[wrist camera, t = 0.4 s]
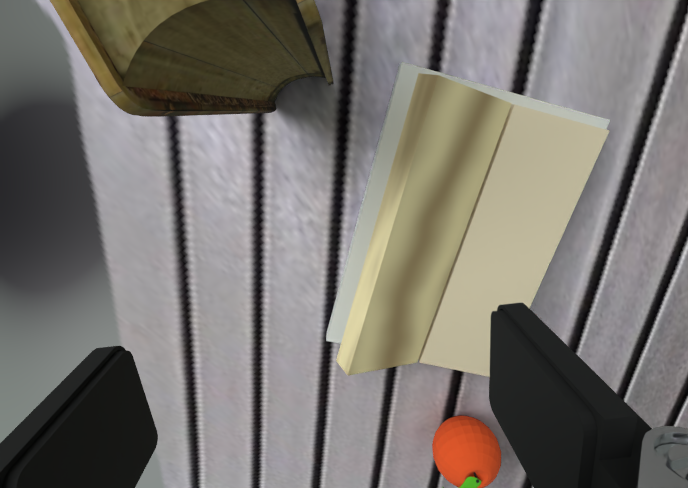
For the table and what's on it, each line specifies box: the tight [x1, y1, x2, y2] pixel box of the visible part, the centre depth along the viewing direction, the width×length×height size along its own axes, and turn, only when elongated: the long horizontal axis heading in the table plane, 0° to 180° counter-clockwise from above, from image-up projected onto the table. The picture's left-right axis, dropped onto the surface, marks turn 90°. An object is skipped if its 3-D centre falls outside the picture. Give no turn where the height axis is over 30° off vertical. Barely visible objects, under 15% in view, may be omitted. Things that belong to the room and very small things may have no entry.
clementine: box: [433, 416, 501, 488], centre depth 41 cm, size 8×7×7 cm
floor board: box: [326, 62, 610, 377], centre depth 35 cm, size 18×26×4 cm
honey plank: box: [336, 73, 512, 375], centre depth 32 cm, size 8×24×2 cm, turn 166°
